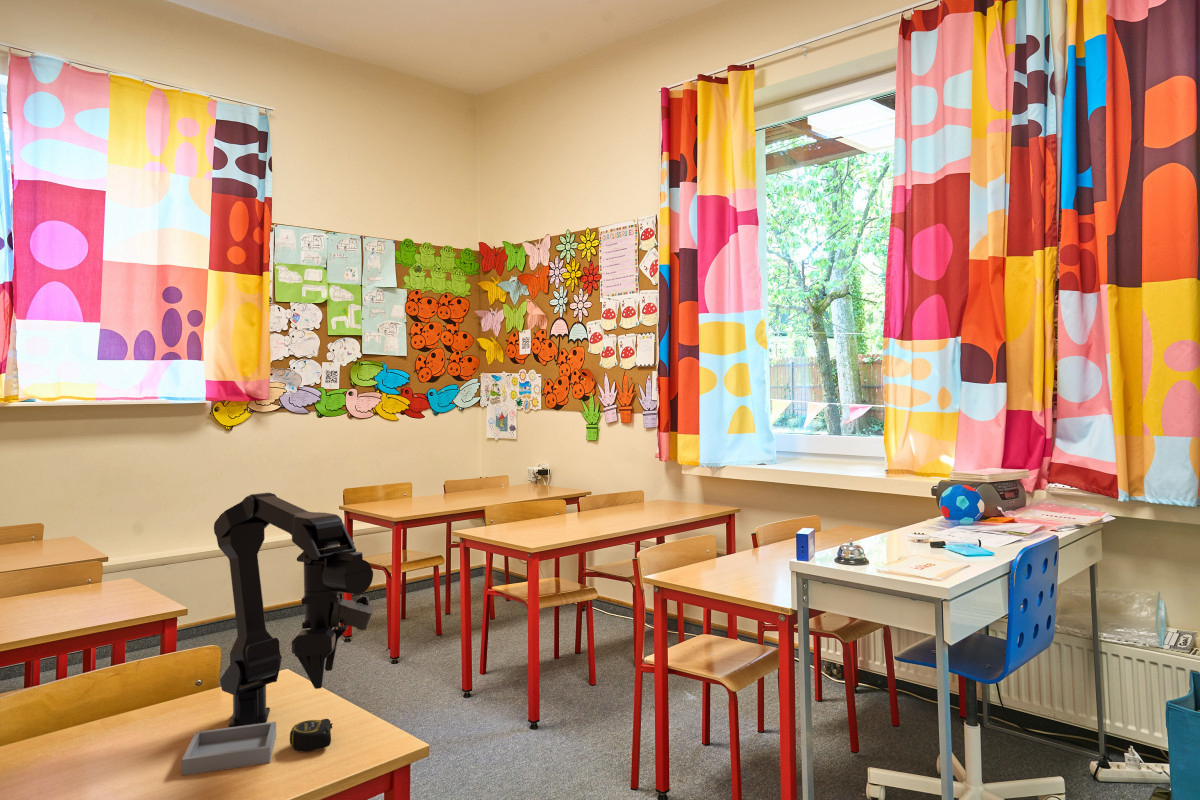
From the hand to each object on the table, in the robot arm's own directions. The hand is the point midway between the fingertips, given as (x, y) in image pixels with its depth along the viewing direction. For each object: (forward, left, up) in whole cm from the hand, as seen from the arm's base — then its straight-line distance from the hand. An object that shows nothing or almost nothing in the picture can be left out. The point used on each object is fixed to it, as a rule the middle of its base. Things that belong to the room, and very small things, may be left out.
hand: (323, 679), depth 129 cm
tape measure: (-2, -2, -12) cm, 13 cm away
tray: (-3, -15, -12) cm, 19 cm away
